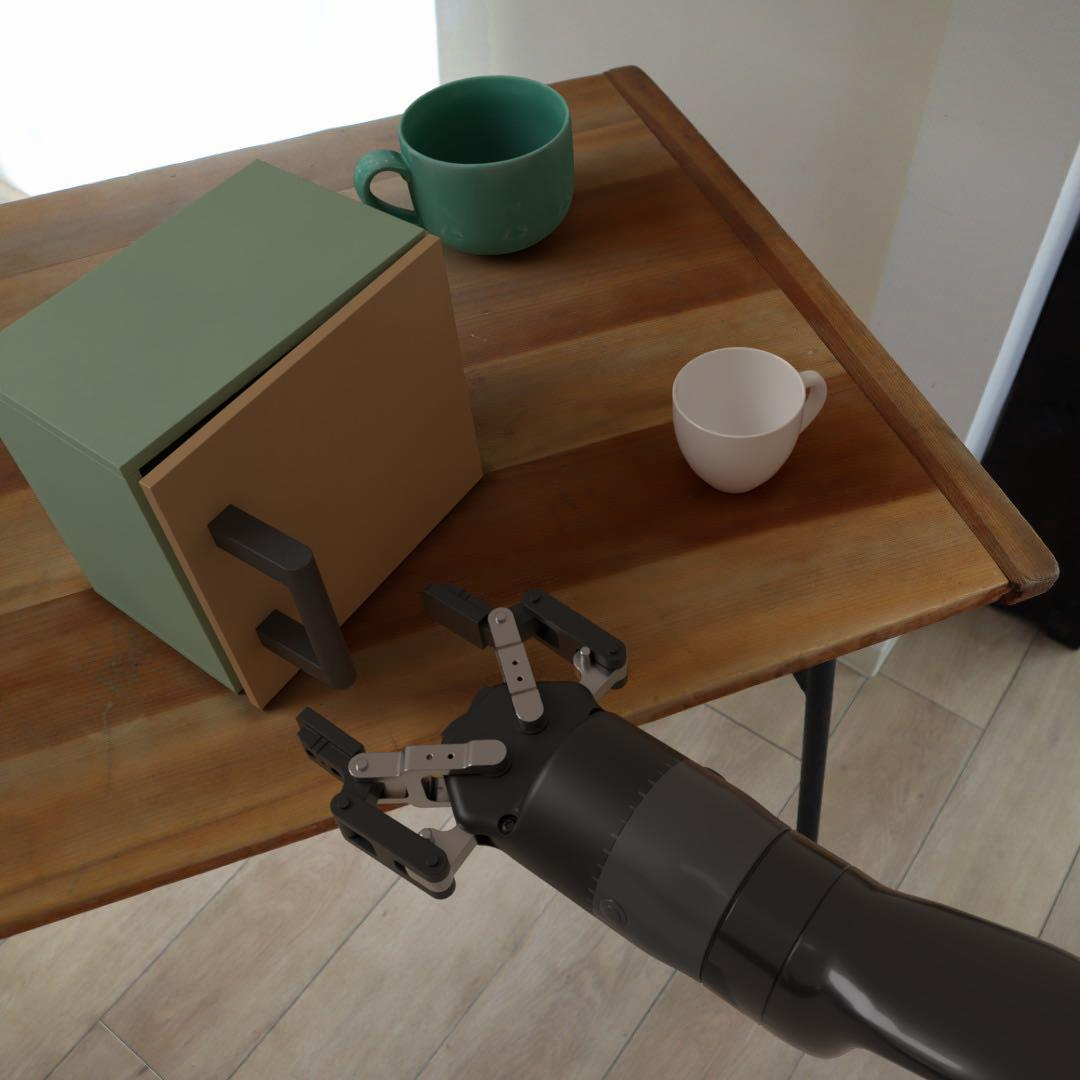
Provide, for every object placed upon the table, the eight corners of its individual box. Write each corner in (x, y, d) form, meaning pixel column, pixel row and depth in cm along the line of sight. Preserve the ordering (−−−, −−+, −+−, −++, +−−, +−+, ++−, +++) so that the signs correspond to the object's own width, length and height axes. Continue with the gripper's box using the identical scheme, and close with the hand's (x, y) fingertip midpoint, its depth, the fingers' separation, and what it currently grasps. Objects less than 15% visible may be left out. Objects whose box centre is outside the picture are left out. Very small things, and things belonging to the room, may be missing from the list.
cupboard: (471, 471, 76) (425, 228, 62) (237, 694, 66) (119, 468, 52) (328, 396, 82) (257, 158, 68) (94, 591, 72) (-47, 362, 58)
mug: (556, 168, 97) (547, 59, 90) (597, 256, 89) (590, 144, 82) (359, 210, 96) (334, 103, 89) (383, 304, 88) (357, 194, 81)
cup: (650, 451, 76) (649, 372, 71) (785, 399, 78) (794, 319, 73) (709, 532, 71) (712, 454, 66) (852, 475, 73) (866, 395, 68)
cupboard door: (557, 511, 73) (531, 271, 59) (338, 760, 63) (244, 541, 49) (473, 471, 76) (429, 233, 62) (251, 703, 66) (137, 481, 52)
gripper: (554, 1016, 48) (280, 805, 55) (740, 762, 55) (474, 604, 62) (538, 947, 42) (234, 722, 49) (749, 672, 49) (454, 509, 56)
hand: (368, 656), depth 56 cm, fingers open, 8 cm apart
